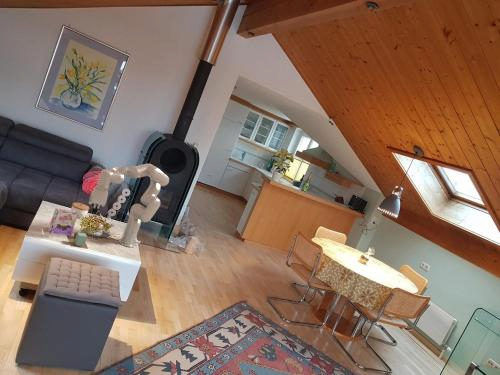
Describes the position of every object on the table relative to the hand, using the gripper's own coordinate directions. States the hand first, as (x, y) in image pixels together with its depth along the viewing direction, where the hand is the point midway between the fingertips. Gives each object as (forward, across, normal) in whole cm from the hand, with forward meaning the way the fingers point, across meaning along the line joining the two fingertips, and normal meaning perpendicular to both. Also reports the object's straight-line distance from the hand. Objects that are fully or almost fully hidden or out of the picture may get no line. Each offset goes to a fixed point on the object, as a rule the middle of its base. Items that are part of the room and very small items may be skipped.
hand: (93, 213), depth 259 cm
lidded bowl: (+24, -6, -52) cm, 57 cm away
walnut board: (+23, +4, -1) cm, 23 cm away
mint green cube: (+21, +4, +4) cm, 22 cm away
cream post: (+22, +4, +4) cm, 23 cm away
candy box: (+23, +14, -13) cm, 30 cm away
